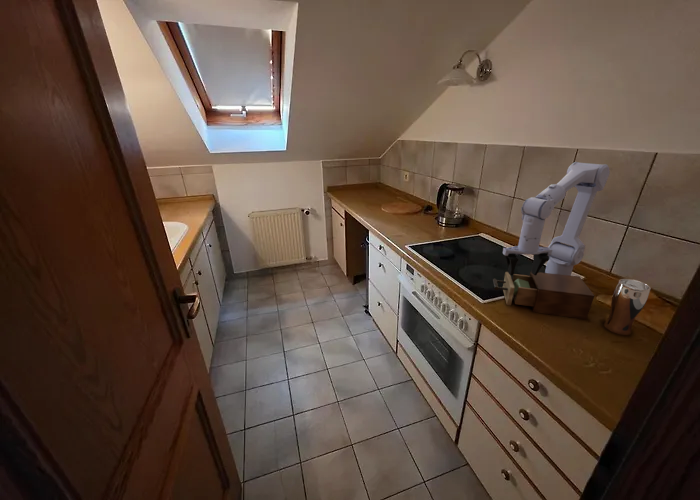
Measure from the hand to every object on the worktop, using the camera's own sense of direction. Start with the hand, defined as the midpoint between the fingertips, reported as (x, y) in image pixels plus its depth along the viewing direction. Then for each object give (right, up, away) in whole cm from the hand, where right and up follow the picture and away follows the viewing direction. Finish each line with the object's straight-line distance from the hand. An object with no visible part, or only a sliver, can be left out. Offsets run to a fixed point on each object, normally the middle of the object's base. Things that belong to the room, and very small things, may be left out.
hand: (522, 274), depth 99 cm
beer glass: (+21, -15, -12) cm, 29 cm away
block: (0, -6, +3) cm, 7 cm away
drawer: (+1, -9, +3) cm, 9 cm away
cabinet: (+11, -10, 0) cm, 15 cm away
